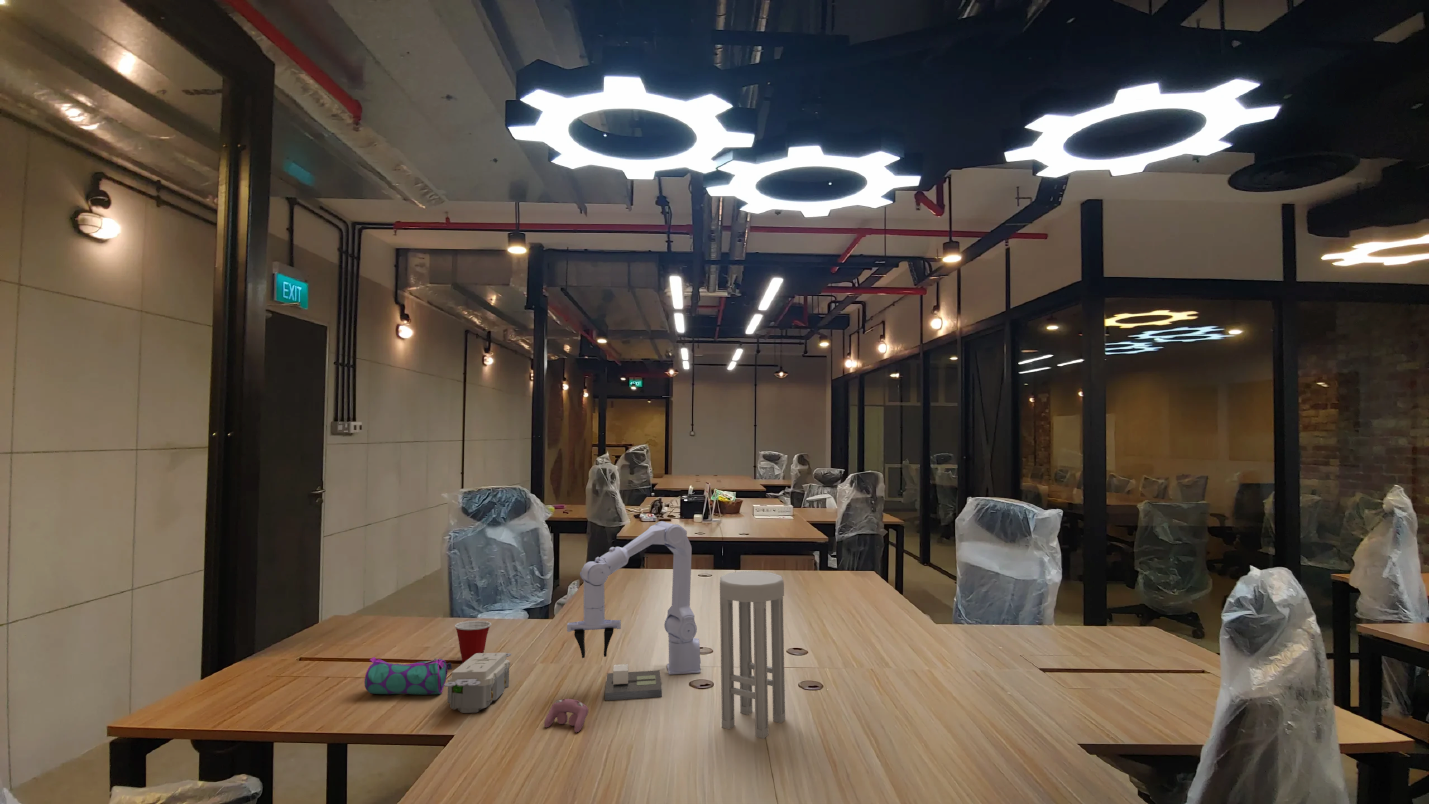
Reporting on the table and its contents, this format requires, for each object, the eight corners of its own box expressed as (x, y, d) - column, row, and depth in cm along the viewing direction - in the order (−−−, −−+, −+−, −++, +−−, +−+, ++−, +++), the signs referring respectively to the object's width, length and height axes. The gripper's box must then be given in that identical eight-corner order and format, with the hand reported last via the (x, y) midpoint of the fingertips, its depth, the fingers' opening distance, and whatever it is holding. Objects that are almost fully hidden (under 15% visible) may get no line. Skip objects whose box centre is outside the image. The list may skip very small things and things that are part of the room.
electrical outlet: (435, 721, 155) (436, 678, 157) (476, 683, 184) (477, 648, 185) (483, 720, 156) (484, 677, 157) (516, 682, 184) (517, 647, 185)
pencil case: (451, 685, 179) (452, 651, 180) (439, 698, 171) (439, 662, 171) (377, 687, 179) (377, 653, 179) (360, 701, 170) (361, 664, 170)
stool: (767, 744, 143) (764, 587, 144) (709, 728, 151) (707, 580, 153) (796, 718, 156) (793, 574, 158) (741, 704, 164) (739, 568, 166)
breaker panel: (659, 677, 183) (659, 669, 183) (661, 696, 169) (661, 688, 170) (607, 680, 181) (607, 672, 182) (605, 700, 168) (605, 692, 168)
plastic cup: (498, 659, 200) (498, 621, 200) (469, 670, 190) (469, 630, 191) (476, 653, 205) (476, 616, 206) (446, 664, 196) (447, 624, 197)
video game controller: (586, 733, 152) (592, 702, 156) (577, 732, 149) (584, 700, 152) (551, 728, 156) (558, 697, 159) (541, 727, 152) (548, 695, 155)
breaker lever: (628, 676, 178) (628, 663, 178) (628, 683, 173) (627, 670, 173) (613, 677, 177) (613, 664, 178) (613, 684, 172) (613, 671, 173)
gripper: (620, 601, 180) (621, 649, 179) (568, 603, 178) (569, 652, 178) (620, 607, 173) (620, 658, 172) (566, 610, 171) (566, 661, 171)
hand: (594, 656), depth 175 cm, fingers open, 5 cm apart
